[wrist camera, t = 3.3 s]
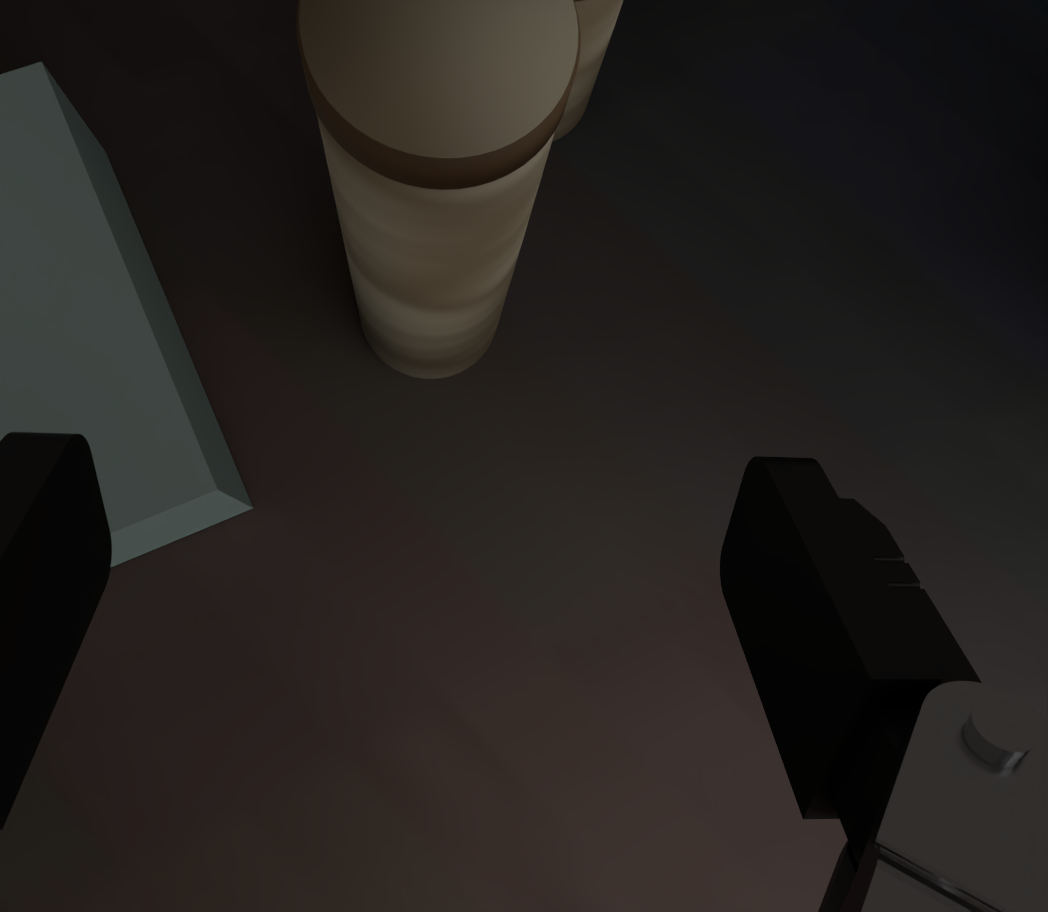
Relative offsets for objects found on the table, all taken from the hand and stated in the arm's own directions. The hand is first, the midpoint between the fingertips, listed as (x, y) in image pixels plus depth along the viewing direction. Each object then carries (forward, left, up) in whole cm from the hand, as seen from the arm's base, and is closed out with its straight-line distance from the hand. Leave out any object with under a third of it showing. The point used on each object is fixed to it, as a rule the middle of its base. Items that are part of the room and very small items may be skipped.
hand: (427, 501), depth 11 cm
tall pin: (-3, -6, -11) cm, 13 cm away
